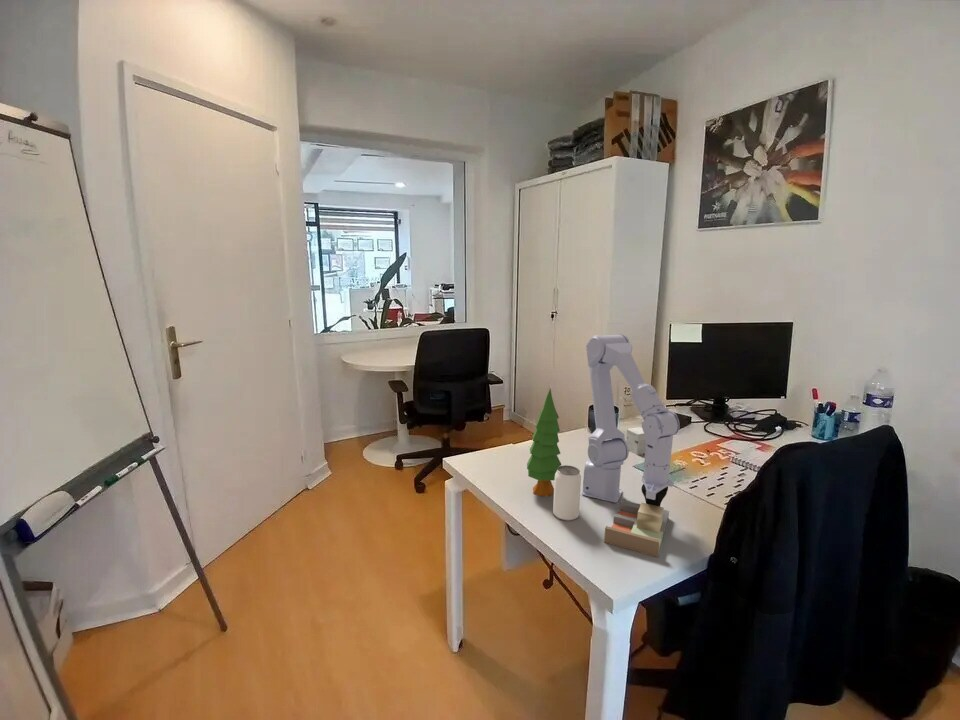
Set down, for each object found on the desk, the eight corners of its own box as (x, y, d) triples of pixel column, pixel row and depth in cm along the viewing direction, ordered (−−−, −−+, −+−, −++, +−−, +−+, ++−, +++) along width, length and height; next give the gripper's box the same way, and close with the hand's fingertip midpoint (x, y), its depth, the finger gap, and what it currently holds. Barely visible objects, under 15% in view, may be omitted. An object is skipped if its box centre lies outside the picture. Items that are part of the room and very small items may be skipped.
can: (575, 508, 122) (578, 464, 120) (581, 521, 116) (584, 475, 113) (550, 508, 122) (552, 464, 119) (555, 521, 115) (557, 475, 113)
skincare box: (624, 448, 163) (626, 428, 162) (638, 446, 166) (640, 426, 164) (636, 455, 158) (638, 434, 156) (651, 452, 160) (652, 432, 159)
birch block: (636, 527, 109) (637, 511, 109) (640, 517, 114) (641, 502, 113) (659, 533, 107) (660, 517, 106) (662, 523, 111) (663, 507, 111)
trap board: (604, 542, 107) (605, 528, 106) (621, 506, 123) (622, 494, 122) (657, 557, 102) (658, 542, 101) (668, 518, 118) (669, 505, 117)
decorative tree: (550, 502, 125) (555, 393, 119) (518, 493, 129) (521, 387, 124) (563, 488, 133) (569, 385, 127) (533, 480, 138) (537, 380, 132)
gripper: (671, 476, 103) (666, 533, 106) (678, 454, 116) (673, 505, 118) (638, 470, 106) (633, 525, 109) (648, 449, 119) (644, 498, 121)
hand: (652, 514), depth 114 cm, fingers closed
